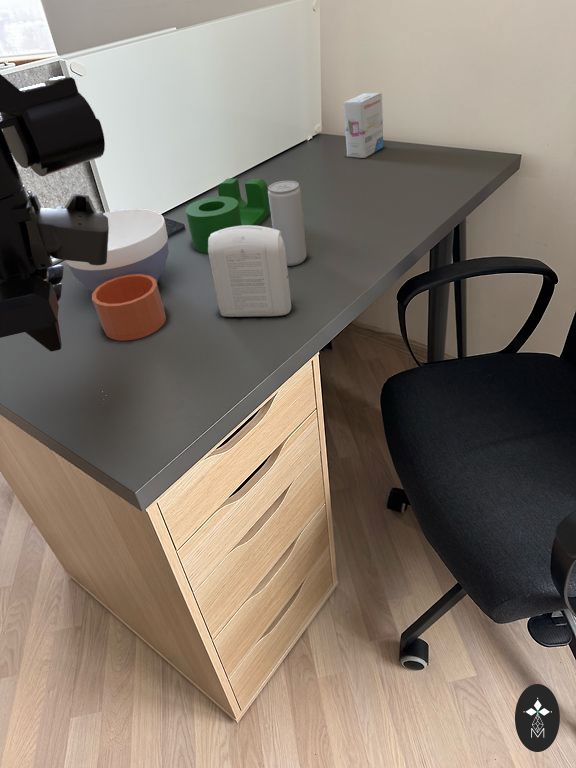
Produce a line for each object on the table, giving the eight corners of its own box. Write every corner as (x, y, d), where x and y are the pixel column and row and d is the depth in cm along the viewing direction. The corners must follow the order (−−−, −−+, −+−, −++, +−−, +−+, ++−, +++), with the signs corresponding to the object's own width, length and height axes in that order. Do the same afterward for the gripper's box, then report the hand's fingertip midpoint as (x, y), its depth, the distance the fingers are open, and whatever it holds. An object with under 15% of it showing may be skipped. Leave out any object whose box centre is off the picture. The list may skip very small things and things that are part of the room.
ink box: (365, 145, 136) (364, 91, 128) (384, 147, 133) (383, 92, 126) (345, 156, 131) (343, 100, 123) (364, 158, 128) (362, 101, 121)
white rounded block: (294, 301, 81) (284, 218, 73) (290, 317, 77) (279, 231, 70) (224, 304, 82) (207, 222, 75) (217, 320, 79) (199, 236, 72)
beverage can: (306, 265, 89) (299, 189, 82) (276, 268, 90) (266, 193, 82) (306, 252, 93) (299, 178, 86) (277, 254, 93) (268, 181, 86)
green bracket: (230, 254, 96) (224, 217, 92) (184, 251, 99) (175, 215, 95) (270, 212, 108) (266, 179, 104) (228, 211, 111) (222, 178, 108)
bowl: (145, 255, 99) (130, 201, 93) (198, 280, 89) (185, 222, 83) (61, 291, 91) (39, 235, 86) (109, 324, 81) (87, 263, 76)
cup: (104, 346, 77) (91, 311, 73) (104, 315, 84) (92, 282, 80) (168, 331, 78) (158, 296, 75) (163, 302, 85) (154, 268, 82)
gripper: (86, 211, 41) (143, 381, 50) (87, 147, 55) (131, 289, 65) (-77, 244, 39) (14, 414, 49) (-32, 170, 54) (32, 311, 63)
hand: (56, 348), depth 57 cm, fingers closed
